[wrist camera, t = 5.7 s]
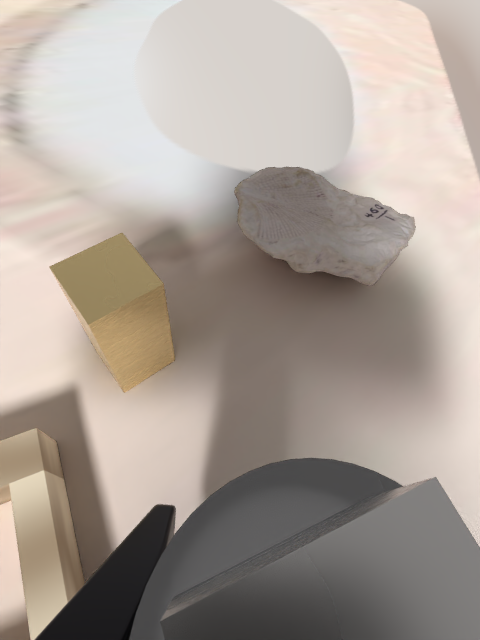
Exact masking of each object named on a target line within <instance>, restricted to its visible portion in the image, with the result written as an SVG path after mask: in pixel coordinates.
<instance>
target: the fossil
mask: <svg viewBox="0 0 480 640" xmlns="http://www.w3.org/2000/svg"><path fill="white" fill-rule="evenodd" d="M234 193H235V195H236V197H237V199H238V203H239V209H238V219H237V222H238V224H239V226H240V228H241V230H242V232H243V233H244V235H245V236H246V237H248V238H249V239H250V240H252V241H253V242H254V243H256V244H257V245H258V247H259V248H260V249H261V250H262V251H264V252H265V253H267V254H269V255H270V256H271V257H272V258H277V259H282V260H285V261H287V262H288V264H289V266H290V267H291V268H292V269H293V270H294V271H296V272H300V273H313V272H315V271H325V272H327V273H329V274H333V275H336V276H341V277H350V278H352V279H354V280H356V281H358V282H360V283H363V284H365V285H367V286H368V285H373V284H375V283H376V282H377V280H378V279H379V278H380V277H381V275H382V274H383V272H384V271H385V270H386V268H388V267H389V266H390V265H391V264H392V263H393V262H394V261H395V259H396V258H397V257H398V255H399V253H400V251H401V250H402V249H404V248H405V247H407V246H408V241H409V240H410V239H411V237H412V236H413V234H414V231H415V228H416V227H415V220H414V217H410V216H408V215H407V214H400V213H398V212H396V211H395V210H394V209H392V208H391V207H389V206H385V205H382V204H381V203H380V202H379V201H377V200H375V199H373V198H370V197H362V196H358V195H353V194H350V193H349V192H347V191H345V190H340V189H338V188H336V187H335V186H333V185H332V184H330V183H329V182H328V181H327V180H326V179H325V178H324V177H322V176H320V175H318V174H315V173H314V172H313V171H311V170H308V169H303V168H300V167H283V168H275V167H268V168H265V169H262V170H260V171H258V172H256V173H255V174H253V175H252V176H250V178H248V179H245V180H243V181H241V182H240V183H239V184H238V186H237V187H235V191H234Z"/></svg>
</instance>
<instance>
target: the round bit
mask: <svg viewBox="0 0 480 640" xmlns="http://www.w3.org/2000/svg"><path fill="white" fill-rule="evenodd" d="M129 640H480V547H479V546H478V544H477V543H476V541H475V539H474V538H473V536H472V535H471V533H470V531H469V530H468V528H467V527H466V525H465V523H464V522H463V520H462V518H461V517H460V515H459V514H458V512H457V510H456V509H455V507H454V506H453V504H452V502H451V501H450V499H449V498H448V496H447V494H446V493H445V491H444V489H443V488H442V486H441V485H440V483H439V481H438V480H437V478H436V477H434V478H430V479H427V480H424V481H420V482H417V483H414V484H410V485H407V486H402V485H400V484H398V483H397V482H395V481H393V480H391V479H389V478H387V477H385V476H383V475H381V474H379V473H377V472H375V471H372V470H370V469H367V468H364V467H361V466H358V465H355V464H352V463H347V462H342V461H337V460H332V459H319V458H304V459H290V460H285V461H281V462H276V463H271V464H268V465H265V466H262V467H260V468H257V469H254V470H251V471H249V472H247V473H245V474H243V475H242V476H240V477H238V478H236V479H234V480H232V481H230V482H229V483H227V484H226V485H225V486H223V487H222V488H220V489H219V490H218V491H216V492H215V493H213V494H212V495H211V496H210V497H209V498H208V499H206V500H205V501H204V502H203V503H202V504H201V505H200V506H199V507H198V508H197V509H196V510H195V511H194V512H193V513H192V514H191V515H190V516H189V518H188V519H187V520H186V521H185V522H184V524H183V525H182V526H181V527H180V528H179V530H178V531H177V532H176V533H175V535H174V536H173V538H172V540H171V541H170V543H169V544H168V546H167V547H166V549H165V550H164V552H163V553H162V555H161V557H160V559H159V561H158V563H157V565H156V567H155V569H154V571H153V573H152V575H151V577H150V579H149V581H148V583H147V585H146V588H145V590H144V593H143V596H142V598H141V601H140V604H139V606H138V609H137V612H136V615H135V619H134V622H133V626H132V630H131V634H130V638H129Z"/></svg>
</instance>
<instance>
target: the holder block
mask: <svg viewBox="0 0 480 640" xmlns="http://www.w3.org/2000/svg"><path fill="white" fill-rule="evenodd" d="M10 500H11V501H12V508H13V515H14V523H15V530H16V537H17V544H18V552H19V559H20V566H21V574H22V581H23V588H24V596H25V603H26V610H27V617H28V625H29V632H30V639H31V640H35V638H36V637H37V636H38V635H39V634H40V633H41V632H42V631H43V630H44V628H45V627H46V626H47V625H48V624H49V623H50V622H51V621H52V620H53V618H54V617H55V616H56V615H57V614H58V613H59V612H60V611H61V610H62V608H63V607H64V606H65V605H66V604H67V603H68V602H69V601H70V600H71V598H72V597H73V596H74V595H75V594H76V593H77V592H78V591H79V590H80V588H81V587H82V586H83V585H84V584H85V582H84V577H83V572H82V567H81V562H80V557H79V552H78V547H77V542H76V537H75V532H74V527H73V522H72V517H71V512H70V507H69V502H68V497H67V492H66V487H65V482H64V477H63V472H62V467H61V461H60V456H59V451H58V446H57V442H56V441H55V440H53V439H52V438H51V437H49V436H48V435H46V434H45V433H43V432H42V431H40V430H39V429H37V428H34V429H32V430H29V431H26V432H23V433H20V434H18V435H15V436H12V437H9V438H6V439H4V440H1V441H0V504H3V503H5V502H8V501H10Z"/></svg>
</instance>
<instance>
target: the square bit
mask: <svg viewBox="0 0 480 640" xmlns="http://www.w3.org/2000/svg"><path fill="white" fill-rule="evenodd" d="M50 269H51V271H52V273H53V275H54V276H55V278H56V280H57V282H58V283H59V285H60V287H61V289H62V291H63V292H64V294H65V296H66V298H67V300H68V301H69V303H70V305H71V307H72V309H73V310H74V312H75V314H76V316H77V318H78V319H79V321H80V323H81V325H82V326H83V328H84V330H85V332H86V334H87V335H88V337H89V339H90V341H91V343H92V344H93V346H94V348H95V350H96V351H97V353H98V354H99V356H100V357H101V359H102V360H103V362H104V363H105V365H106V366H107V368H108V369H109V371H110V372H111V374H112V375H113V377H114V378H115V380H116V381H117V383H118V384H119V386H120V387H121V389H122V390H123V392H124V393H125V392H127V391H128V390H130V389H131V388H133V387H134V386H136V385H137V384H139V383H141V382H142V381H144V380H145V379H147V378H148V377H150V376H151V375H153V374H155V373H156V372H158V371H159V370H161V369H162V368H164V367H166V366H167V365H169V364H170V363H172V362H173V361H175V356H174V350H173V343H172V336H171V330H170V323H169V317H168V310H167V303H166V297H165V290H164V284H163V282H162V281H161V280H160V279H159V277H158V276H157V275H156V274H155V273H154V271H153V270H152V269H151V268H150V266H149V265H148V264H147V263H146V261H145V260H144V259H143V258H142V256H141V255H140V254H139V253H138V252H137V250H136V249H135V248H134V247H133V245H132V244H131V243H130V242H129V240H128V239H127V238H126V237H125V235H124V234H123V233H120V234H118V235H116V236H114V237H112V238H109V239H107V240H105V241H103V242H101V243H99V244H97V245H95V246H92V247H90V248H88V249H86V250H84V251H82V252H80V253H78V254H75V255H73V256H71V257H69V258H67V259H65V260H63V261H61V262H58V263H56V264H54V265H52V266H50Z"/></svg>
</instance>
